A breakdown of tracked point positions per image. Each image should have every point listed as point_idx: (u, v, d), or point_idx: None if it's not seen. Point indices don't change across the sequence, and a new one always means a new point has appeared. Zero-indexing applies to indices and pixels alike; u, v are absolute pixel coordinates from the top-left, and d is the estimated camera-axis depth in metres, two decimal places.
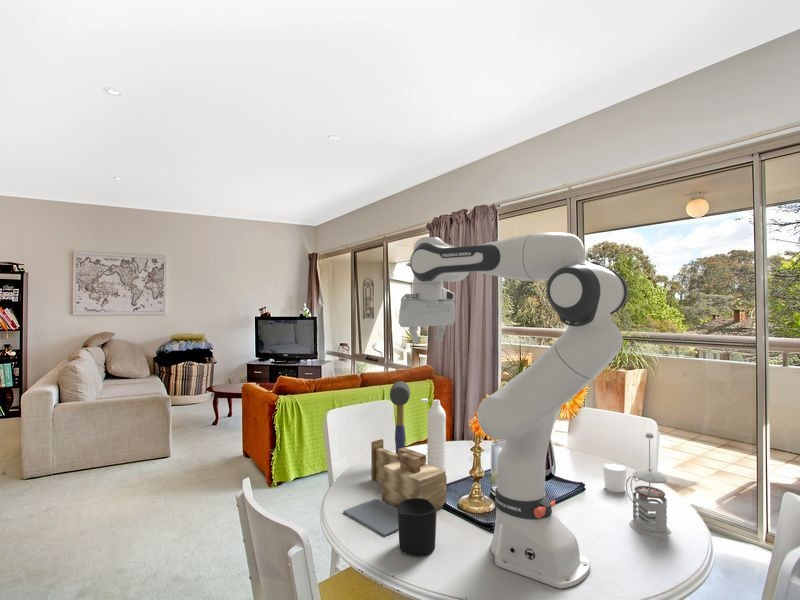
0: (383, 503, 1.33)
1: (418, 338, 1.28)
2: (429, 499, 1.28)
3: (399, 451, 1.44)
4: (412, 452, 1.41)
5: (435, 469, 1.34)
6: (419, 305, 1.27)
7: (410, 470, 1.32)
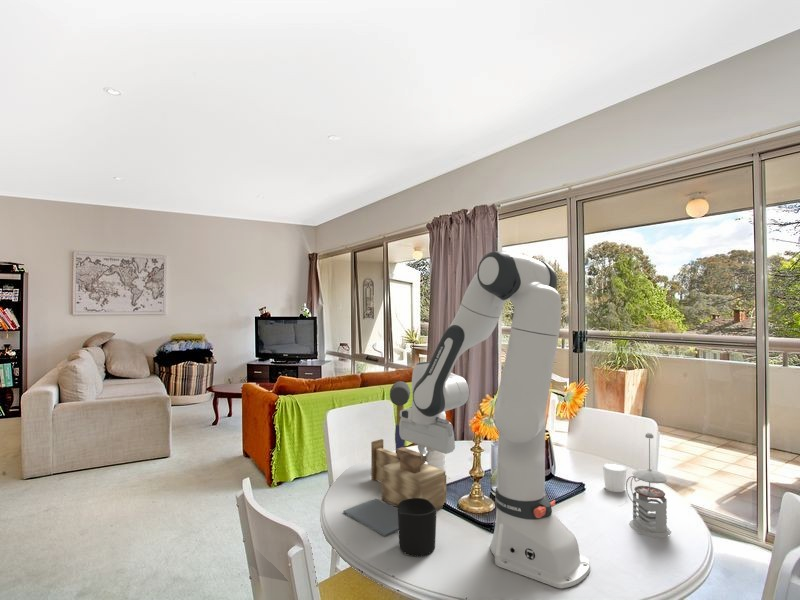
0: (383, 503, 1.33)
1: None
2: (429, 499, 1.28)
3: (398, 451, 1.44)
4: (411, 452, 1.41)
5: (435, 469, 1.34)
6: None
7: (410, 470, 1.32)
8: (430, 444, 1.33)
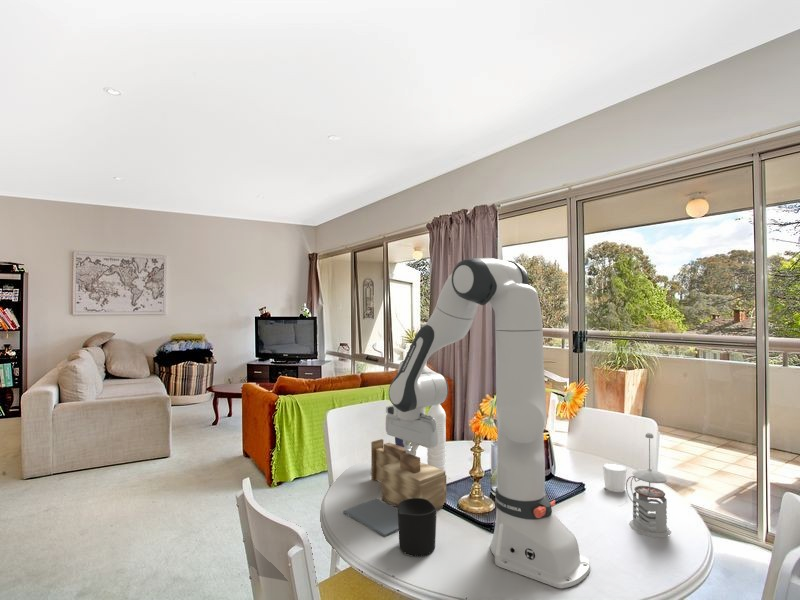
0: (383, 503, 1.33)
1: None
2: (429, 499, 1.28)
3: (385, 446, 1.49)
4: (397, 447, 1.46)
5: (435, 469, 1.34)
6: None
7: (410, 470, 1.32)
8: (414, 439, 1.38)
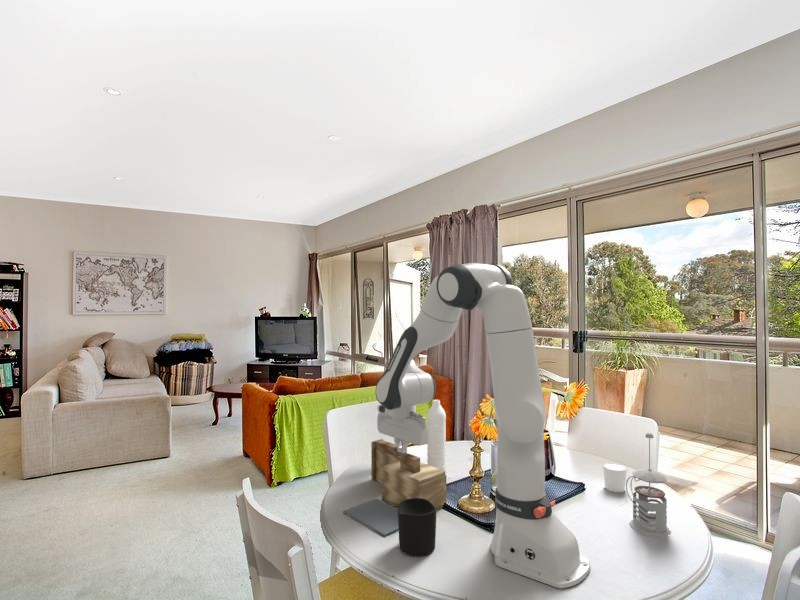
0: (383, 503, 1.33)
1: None
2: (429, 499, 1.28)
3: (377, 443, 1.52)
4: (389, 444, 1.49)
5: (435, 469, 1.34)
6: None
7: (410, 470, 1.32)
8: (405, 437, 1.41)
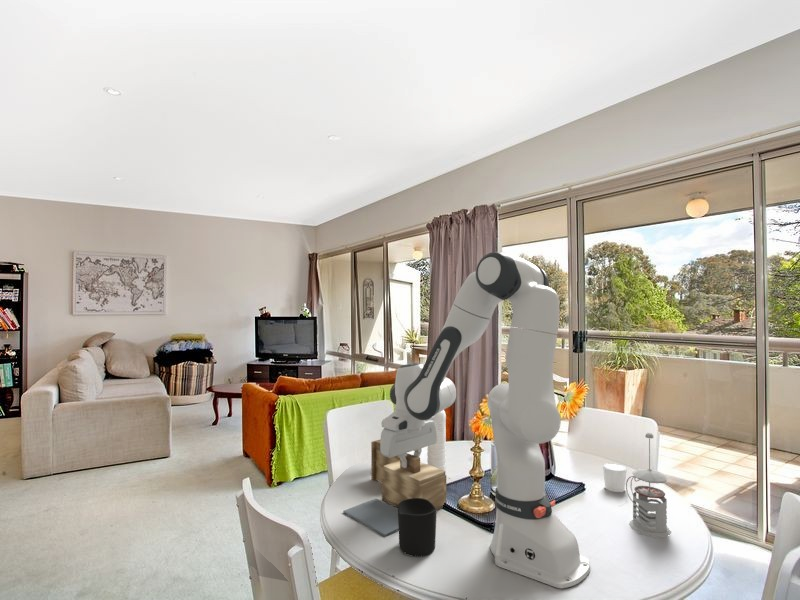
0: (383, 503, 1.33)
1: None
2: (429, 499, 1.28)
3: (377, 443, 1.52)
4: None
5: (435, 469, 1.34)
6: None
7: (410, 470, 1.32)
8: (422, 443, 1.35)
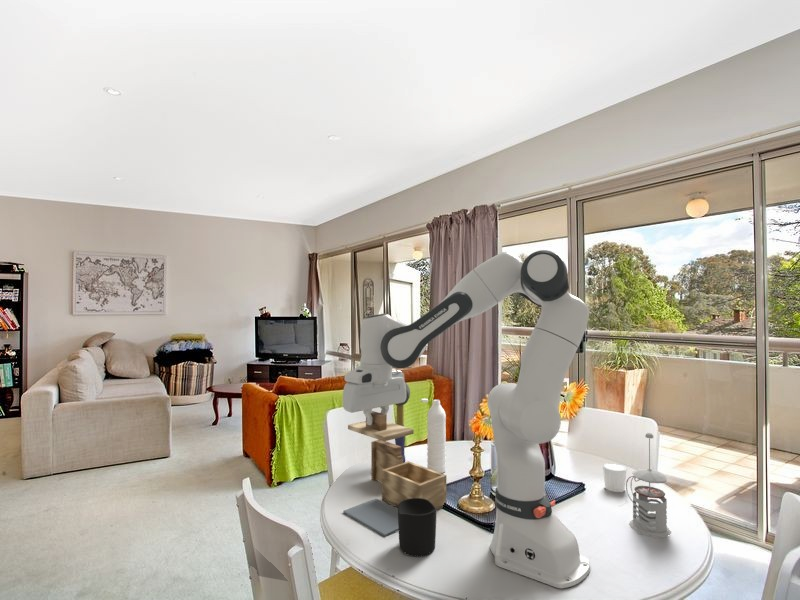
0: (383, 503, 1.33)
1: None
2: (429, 499, 1.28)
3: (377, 443, 1.52)
4: (389, 444, 1.49)
5: (403, 428, 1.26)
6: None
7: (376, 428, 1.23)
8: (390, 400, 1.26)
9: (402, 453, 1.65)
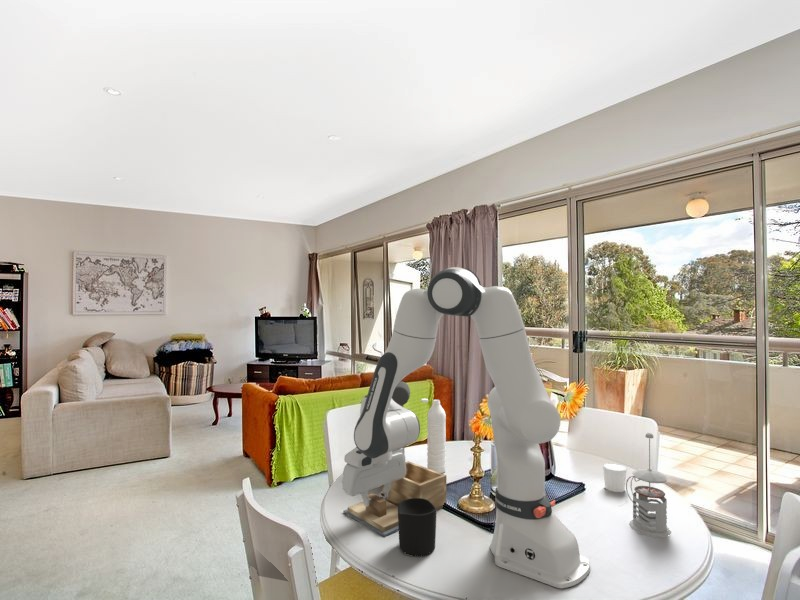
0: None
1: None
2: (429, 499, 1.28)
3: None
4: None
5: None
6: None
7: (375, 513, 1.23)
8: (389, 478, 1.26)
9: None
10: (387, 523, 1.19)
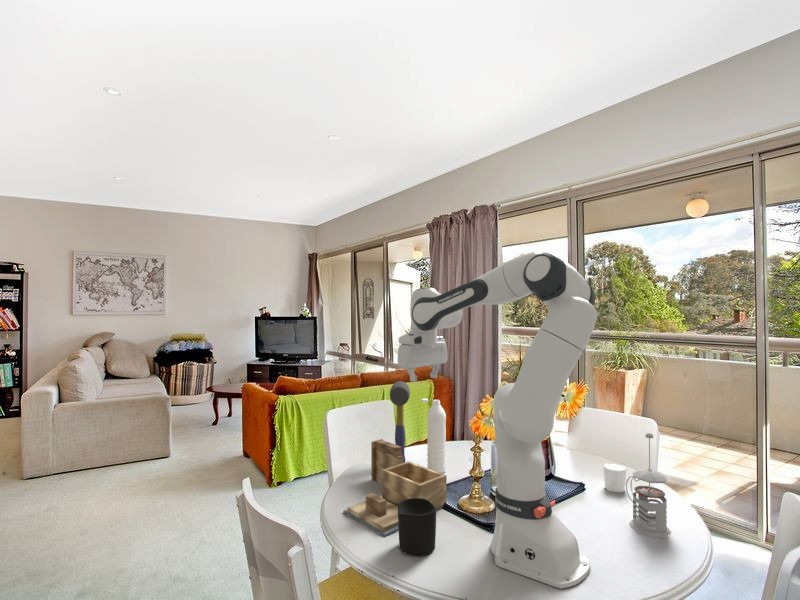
0: None
1: None
2: (429, 499, 1.28)
3: (377, 443, 1.52)
4: (389, 444, 1.49)
5: None
6: None
7: (375, 513, 1.23)
8: (435, 360, 1.51)
9: (402, 453, 1.65)
10: (387, 523, 1.19)
